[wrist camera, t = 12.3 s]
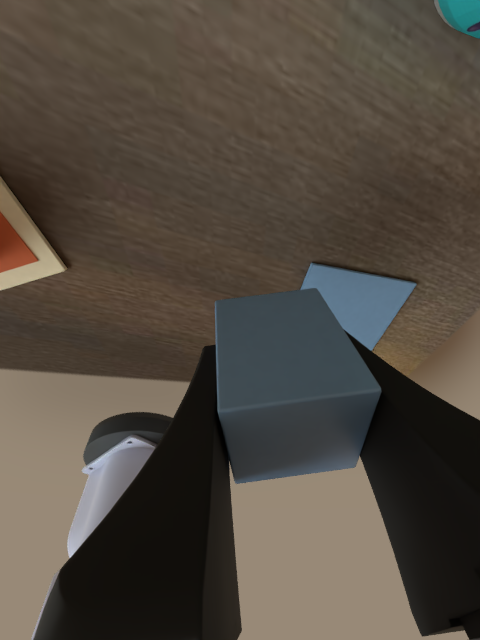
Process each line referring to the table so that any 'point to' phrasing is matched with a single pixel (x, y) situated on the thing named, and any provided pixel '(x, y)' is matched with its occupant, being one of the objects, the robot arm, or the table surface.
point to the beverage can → (461, 15)
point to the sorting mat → (22, 245)
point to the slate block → (289, 386)
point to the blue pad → (359, 299)
